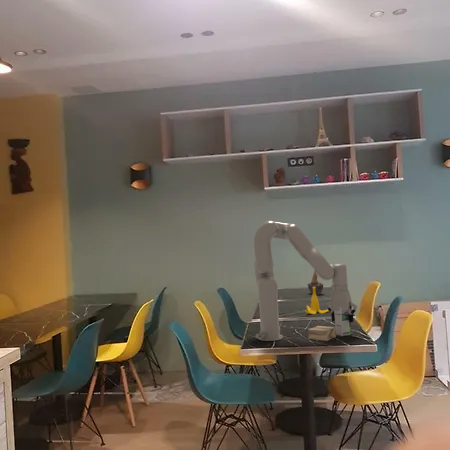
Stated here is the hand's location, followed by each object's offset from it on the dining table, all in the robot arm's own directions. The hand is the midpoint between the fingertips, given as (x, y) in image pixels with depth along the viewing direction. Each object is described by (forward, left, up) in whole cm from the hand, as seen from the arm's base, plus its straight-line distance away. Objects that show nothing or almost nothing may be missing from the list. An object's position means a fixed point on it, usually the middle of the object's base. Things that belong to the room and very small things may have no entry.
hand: (342, 321), depth 262 cm
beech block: (-11, +5, -7) cm, 14 cm away
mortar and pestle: (+119, +91, -7) cm, 150 cm away
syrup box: (0, 0, -7) cm, 7 cm away
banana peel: (+50, +45, -7) cm, 68 cm away
